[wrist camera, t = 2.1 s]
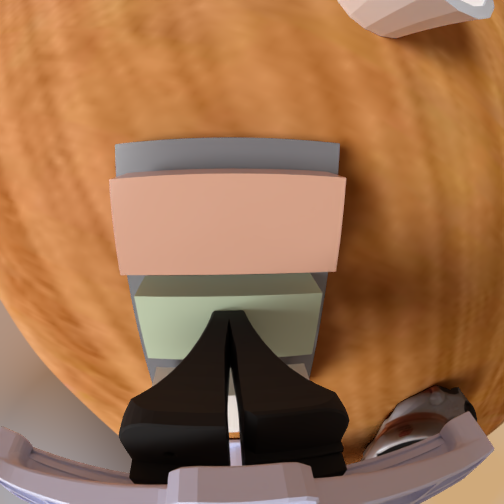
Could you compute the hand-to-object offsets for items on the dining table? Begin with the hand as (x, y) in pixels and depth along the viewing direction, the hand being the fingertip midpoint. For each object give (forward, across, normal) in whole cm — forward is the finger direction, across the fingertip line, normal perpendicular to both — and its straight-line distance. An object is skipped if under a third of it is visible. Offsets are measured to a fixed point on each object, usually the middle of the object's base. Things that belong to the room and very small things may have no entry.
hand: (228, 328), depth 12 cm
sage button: (+2, 0, 0) cm, 2 cm away
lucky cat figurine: (+4, -18, +19) cm, 27 cm away
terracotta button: (+1, 0, -5) cm, 5 cm away
